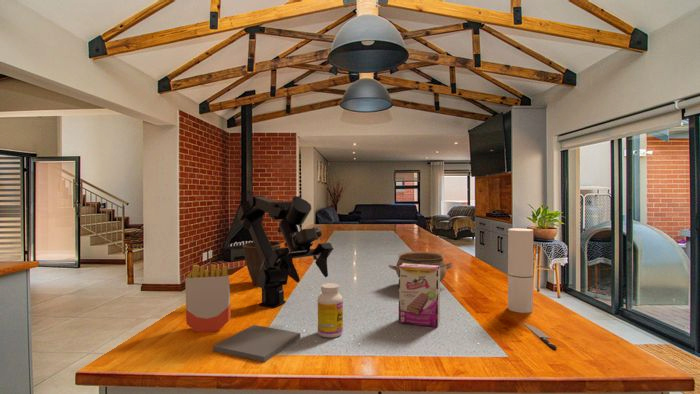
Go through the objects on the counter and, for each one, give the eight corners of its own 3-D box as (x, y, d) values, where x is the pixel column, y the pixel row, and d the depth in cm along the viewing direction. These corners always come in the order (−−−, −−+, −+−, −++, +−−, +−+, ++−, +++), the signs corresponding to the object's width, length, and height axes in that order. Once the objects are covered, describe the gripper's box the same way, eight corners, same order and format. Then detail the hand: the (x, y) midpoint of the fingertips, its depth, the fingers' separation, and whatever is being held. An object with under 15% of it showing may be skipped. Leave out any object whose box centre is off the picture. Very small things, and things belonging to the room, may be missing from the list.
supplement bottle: (339, 339, 97) (339, 289, 97) (314, 337, 99) (314, 288, 98) (345, 329, 104) (344, 282, 104) (321, 328, 105) (321, 281, 105)
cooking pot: (443, 279, 158) (443, 250, 157) (461, 292, 139) (461, 259, 139) (383, 282, 155) (383, 252, 155) (394, 295, 136) (394, 261, 136)
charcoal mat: (213, 350, 91) (212, 345, 91) (253, 329, 105) (253, 324, 105) (264, 362, 85) (264, 356, 85) (300, 337, 99) (300, 333, 99)
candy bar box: (398, 323, 108) (397, 266, 108) (401, 317, 113) (401, 262, 112) (438, 328, 104) (438, 268, 104) (440, 322, 109) (440, 264, 109)
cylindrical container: (532, 307, 122) (533, 228, 121) (533, 314, 115) (533, 231, 114) (508, 304, 125) (508, 227, 124) (507, 311, 118) (507, 230, 117)
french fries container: (190, 327, 107) (189, 263, 106) (230, 324, 109) (229, 261, 108) (186, 333, 102) (185, 266, 102) (228, 330, 104) (227, 264, 104)
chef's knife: (531, 323, 109) (520, 322, 109) (531, 319, 109) (521, 318, 109) (565, 352, 90) (552, 351, 90) (566, 347, 90) (552, 346, 90)
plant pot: (277, 288, 147) (276, 246, 146) (238, 288, 147) (237, 247, 147) (284, 278, 162) (283, 241, 161) (249, 279, 162) (248, 241, 162)
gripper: (273, 219, 104) (293, 267, 96) (330, 215, 116) (352, 258, 108) (261, 244, 111) (279, 290, 103) (315, 238, 122) (335, 279, 114)
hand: (313, 279), depth 107 cm, fingers open, 9 cm apart
